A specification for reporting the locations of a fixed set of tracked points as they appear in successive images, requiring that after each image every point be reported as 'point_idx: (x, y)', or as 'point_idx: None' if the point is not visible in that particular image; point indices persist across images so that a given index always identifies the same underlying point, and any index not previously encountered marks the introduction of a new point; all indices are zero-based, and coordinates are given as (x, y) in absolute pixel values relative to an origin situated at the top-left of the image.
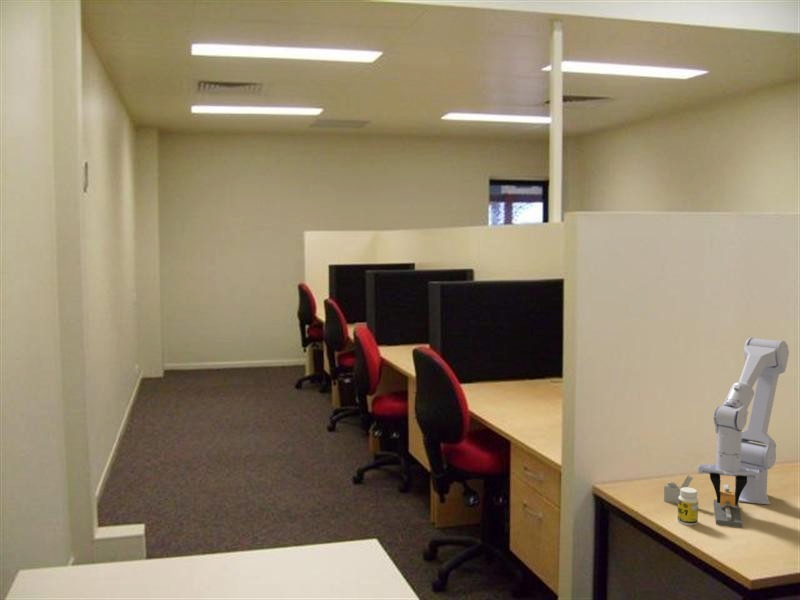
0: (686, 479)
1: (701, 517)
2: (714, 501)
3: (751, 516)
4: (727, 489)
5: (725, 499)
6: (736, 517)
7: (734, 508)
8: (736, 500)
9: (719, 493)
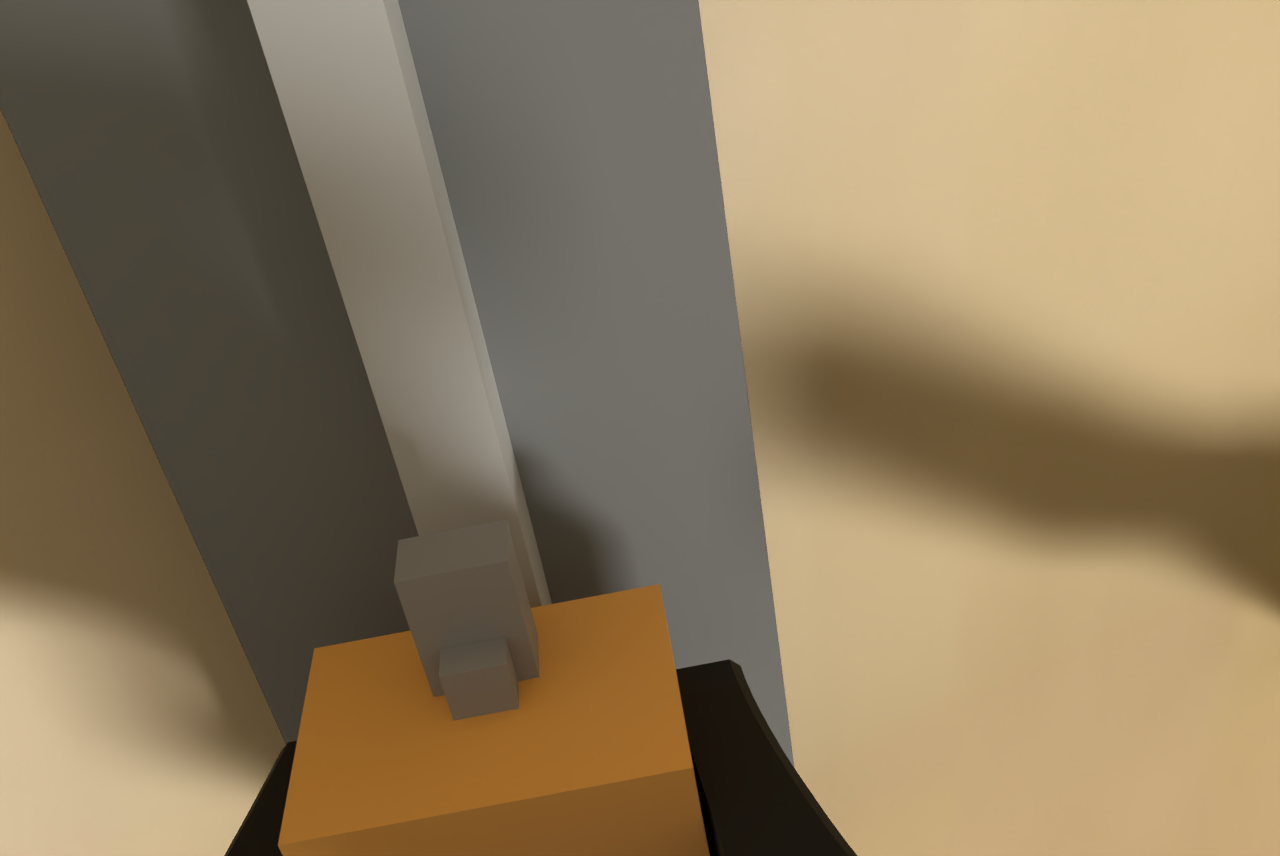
0: None
1: (1019, 54)
2: None
3: (44, 637)
4: None
5: (547, 721)
6: (179, 206)
7: None
8: (281, 815)
9: (738, 846)
